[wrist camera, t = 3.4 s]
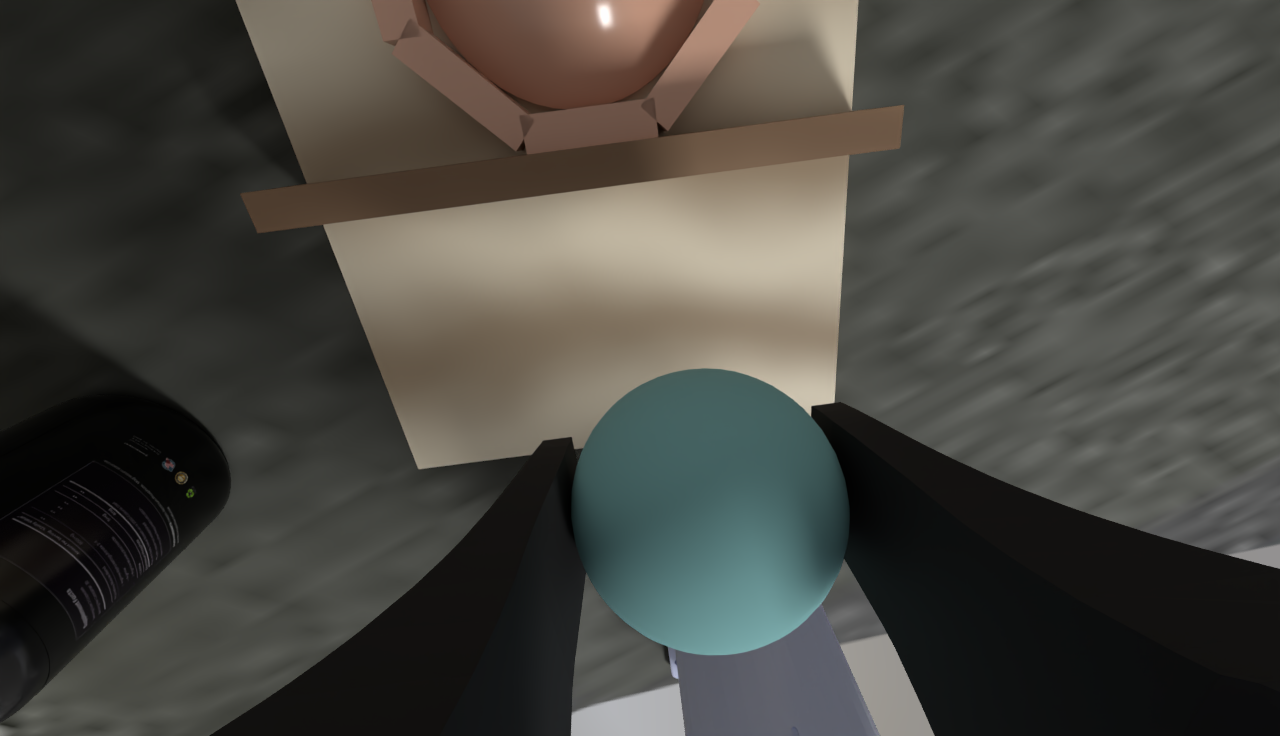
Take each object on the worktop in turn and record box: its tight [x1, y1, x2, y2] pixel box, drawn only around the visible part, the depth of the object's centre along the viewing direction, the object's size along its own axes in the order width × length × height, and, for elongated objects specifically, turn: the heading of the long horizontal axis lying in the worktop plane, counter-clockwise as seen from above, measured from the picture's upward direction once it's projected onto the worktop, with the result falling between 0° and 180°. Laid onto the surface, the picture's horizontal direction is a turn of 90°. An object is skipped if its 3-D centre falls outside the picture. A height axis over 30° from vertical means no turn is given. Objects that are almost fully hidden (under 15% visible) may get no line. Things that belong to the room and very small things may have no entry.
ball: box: [571, 368, 850, 655], centre depth 9 cm, size 5×5×5 cm
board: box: [236, 0, 904, 469], centre depth 14 cm, size 22×17×4 cm
